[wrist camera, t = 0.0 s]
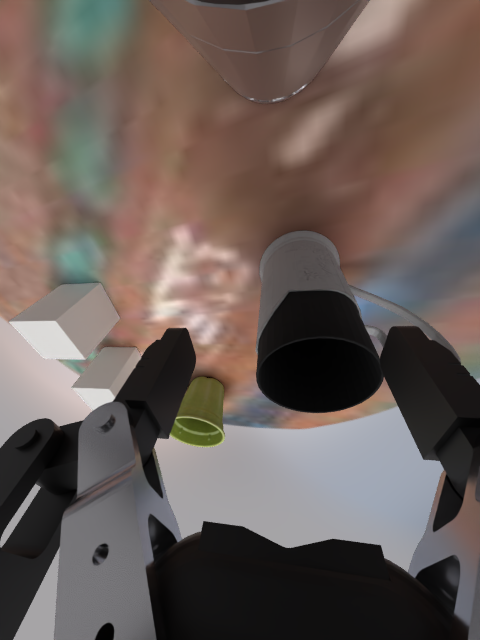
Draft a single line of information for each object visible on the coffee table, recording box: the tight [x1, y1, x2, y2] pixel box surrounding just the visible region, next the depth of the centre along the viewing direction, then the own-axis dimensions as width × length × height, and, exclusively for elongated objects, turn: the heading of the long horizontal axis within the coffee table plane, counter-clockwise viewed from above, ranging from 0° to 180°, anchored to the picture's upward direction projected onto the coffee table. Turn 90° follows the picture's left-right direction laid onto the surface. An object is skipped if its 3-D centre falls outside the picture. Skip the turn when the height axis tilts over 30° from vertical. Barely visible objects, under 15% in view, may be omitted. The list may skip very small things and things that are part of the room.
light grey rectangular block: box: [71, 347, 142, 410], centre depth 37 cm, size 6×6×8 cm
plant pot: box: [170, 377, 225, 447], centre depth 39 cm, size 9×9×9 cm
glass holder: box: [256, 231, 461, 413], centre depth 20 cm, size 9×14×15 cm, turn 90°
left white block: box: [9, 283, 120, 359], centre depth 29 cm, size 6×6×8 cm
